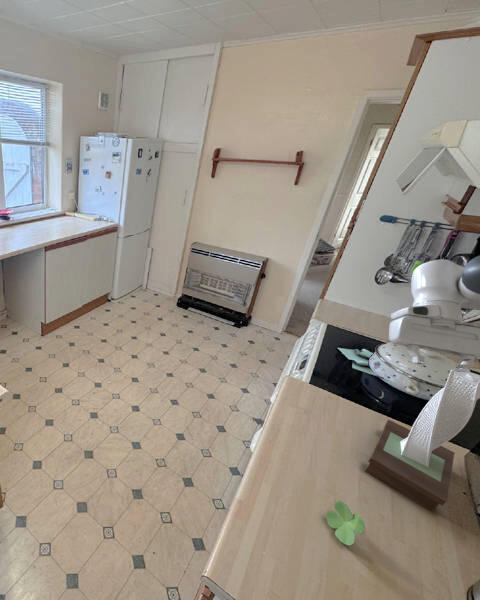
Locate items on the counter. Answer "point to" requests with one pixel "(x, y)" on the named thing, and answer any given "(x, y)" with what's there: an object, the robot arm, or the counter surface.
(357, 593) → the counter surface
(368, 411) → the counter surface
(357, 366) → the cloth
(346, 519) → the seedling
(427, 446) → the white twisted piece
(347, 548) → the counter surface
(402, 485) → the wooden jewelry box
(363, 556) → the counter surface
